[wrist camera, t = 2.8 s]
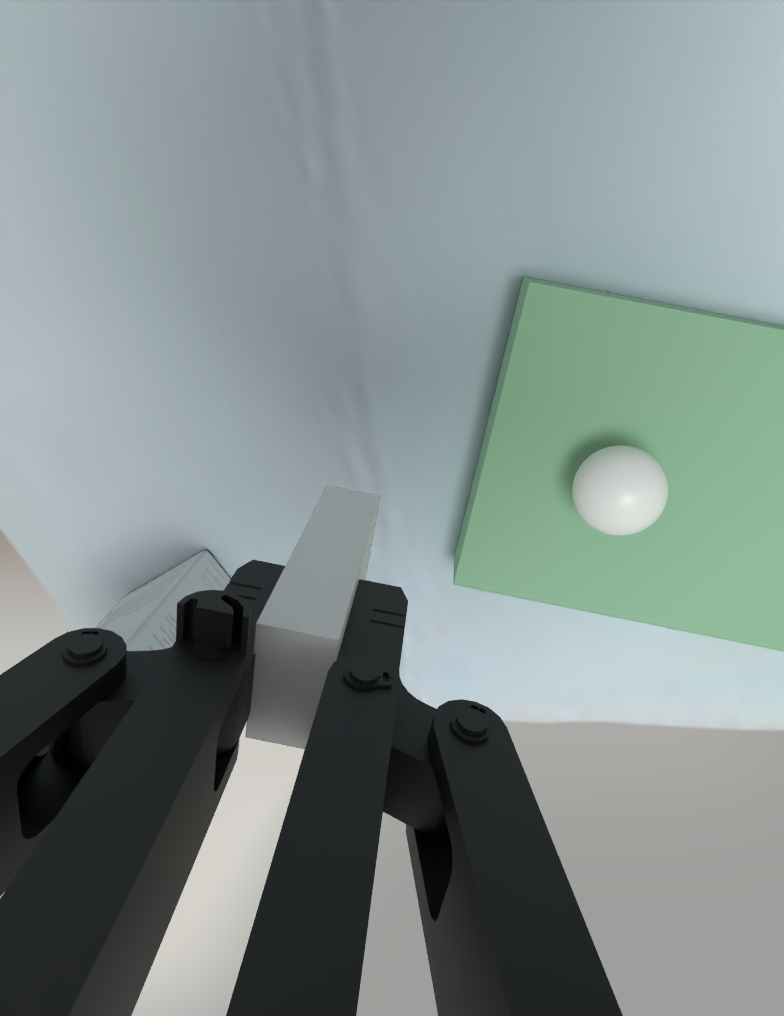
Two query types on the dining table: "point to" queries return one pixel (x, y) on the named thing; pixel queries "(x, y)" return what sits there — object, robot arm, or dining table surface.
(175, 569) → the skincare box
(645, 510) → the ball
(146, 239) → the dining table surface
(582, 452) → the green
